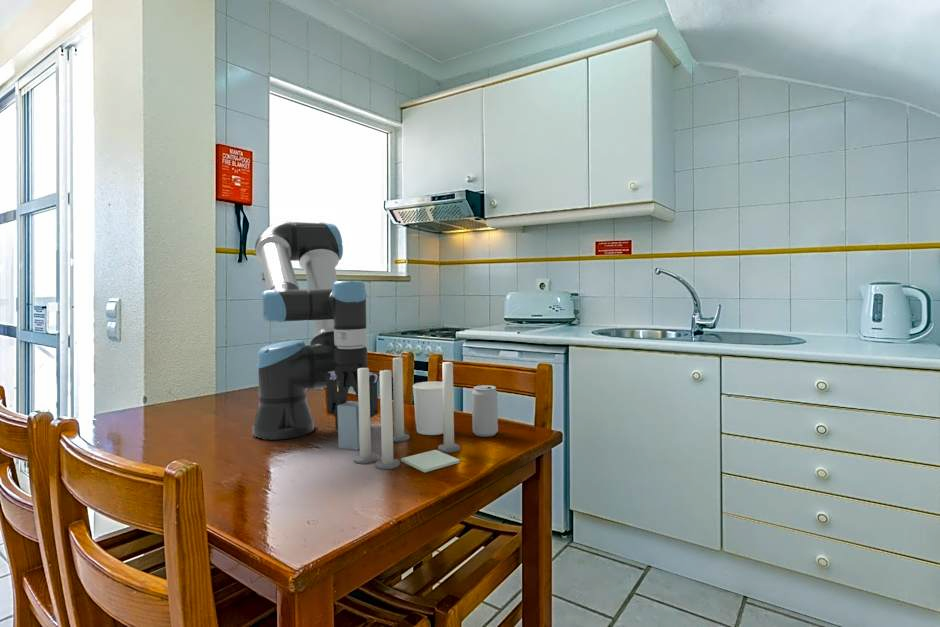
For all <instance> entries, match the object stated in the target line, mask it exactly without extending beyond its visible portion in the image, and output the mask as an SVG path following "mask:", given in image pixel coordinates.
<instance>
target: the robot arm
mask: <svg viewBox="0 0 940 627" xmlns="http://www.w3.org/2000/svg"><path fill="white" fill-rule="evenodd" d="M254 251H255V255H256V256H255V257H256V258H257V260H258V262H260V263H261V267H262V271H263V276H264V282H265V287H266V290H264V291H262V292H261V297H260V308H261V309H260V310H261V317H262V319H263V320H264V321H265V322H273V323H274V322H277V323H285V322H300V321H301V322H302V321H303V322H304V321H312V325H313V331H314V332H313V333H314V336H313V337H312V338H311V339H310V341H309V342H310V343H309V345H306V342H305V341H304V340H303V339H300V340H299V339H296V340H287V341H283V342H281V341H280V342H277V343H272V344H269V345H266V346H263V347H261V348H260V349H259V350H258V352H257V365H256V368H257V378H258V379H257V380H258V382H257V384H258V406H257V410H256V414H255V417H254V423H253V424H252V436H253V435H254V436H255V437H254V436H253V437H254V438H256V437H258V438H257V439H259V438H262V439H261V440H267V439H268V440H269V441H273V440H287V439H292V438H298V437H302V436H304V435H308V434H310V433H312V432H313V431H314V430H315V420H314V418H313V417H312V412H311V410H310V409H311V408H310V407H309V404H308V400H307V390H317V389H326V402H327V404H326V405H327V407H326V408H327V410H326V411H327V414H329V415H333V416H334V419H335V420H334V422H335V430H336V431H338V409H337V406H338V405H340V404H343V403H346V402H347V400H348V394H349V390H350V388H352V389H353V392H354V393H355V397H356V402H358V370H357V369H358V368H368V366H367V365H368V364H367V363H368V348H367V347H366V345H367V344H368V333H367V332H368V330H367V296H368V295H367V291H366V284H365V282H364V281H362V280H338V276H337V272H336V270H337V269H336V267H337V266H338V264H339V262H340V260H342V258H343V255H344V254H343V253H344V247H343V238H342V235H341V231H340V229H339V228H338V227H337V226H336V224H333V223H327V222H326V223H325V222H322V221H321V222H317V223H316V222H303V221H302V222H299V221H279V222H276V223H274V224H271V225H269V226H268V227H266V228H265V229H263V231H261V233H260V234H259V235H258V236H257V238H256V240H255V244H254ZM292 261H295V262H299V267H300V268H301V269H302V270H303V271H305V274H306V275H305V277H306V281H307V282H306V283H307V289H300V287H299V284H298V280H297V277H296V274H295V270H294V267H293V263H292ZM379 380H380V373H377V372H376V373H373V372H371V371H369V393H370V419H371V418H373V417H375V416H377V415H378V414H379V405H378V404H379V402H378V401H379V400H378V399H379V398H378V382H379ZM370 430H372V429H371V424H370Z"/></svg>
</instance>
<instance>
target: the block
mask: <svg viewBox="0 0 940 627" xmlns="http://www.w3.org/2000/svg"><path fill="white" fill-rule="evenodd" d="M337 409H338V430H337V432H338V433H337V436H338V438H337V440H338V448H339V449H348V450H353V451H354V450H355V451H358V450H360V443H359V407H358V401H357V400H356V401H354V400H348V401H346V403H343V404H340V405H338V406H337Z"/></svg>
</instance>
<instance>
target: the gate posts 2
mask: <svg viewBox="0 0 940 627" xmlns="http://www.w3.org/2000/svg"><path fill="white" fill-rule="evenodd" d="M441 368H442V371H441V372H442V382H443V432H444V433H443V443H442V444H439V445H438V447H437V450H438V451H440V452H442V453H445V454H452V453H458V451H460V450H461V446H460V444H457V443H455V420H454V419H455V417H454V415H455V414H454V412H455V410H454V409H455V408H454V406H455V405H454V363H453V362H452V361H445V362H443V361H442V366H441ZM392 385H393V378H392V370H389V369H384V370H379V394H380V395H379V397H380V398H379V400H380V402H379V404H380V437H381V443H380V445H381V459H379V460H377V461H375V468H376V469H378V470H384V471H385V470H394V469H397V468H399V466H400V465H401V460H399V459H398V458H394V442H393V434H394V430H393V428H394V420H393V390H392V389H393V386H392Z"/></svg>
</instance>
